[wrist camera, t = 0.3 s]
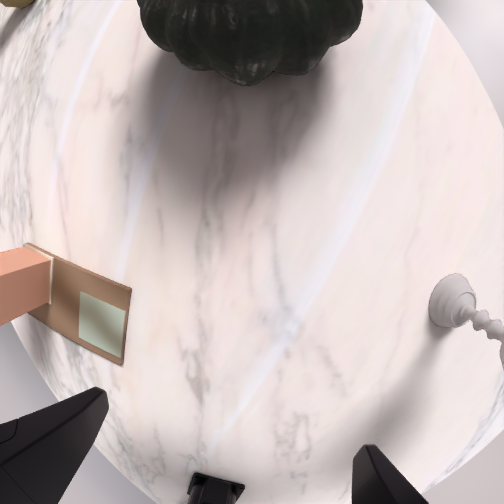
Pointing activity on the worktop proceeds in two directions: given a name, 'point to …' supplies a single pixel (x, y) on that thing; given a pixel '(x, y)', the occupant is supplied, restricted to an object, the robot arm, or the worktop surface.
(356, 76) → the worktop surface
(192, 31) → the squash
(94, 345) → the walnut board
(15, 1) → the squeeze bottle
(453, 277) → the chalice
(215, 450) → the worktop surface
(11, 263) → the terracotta block
